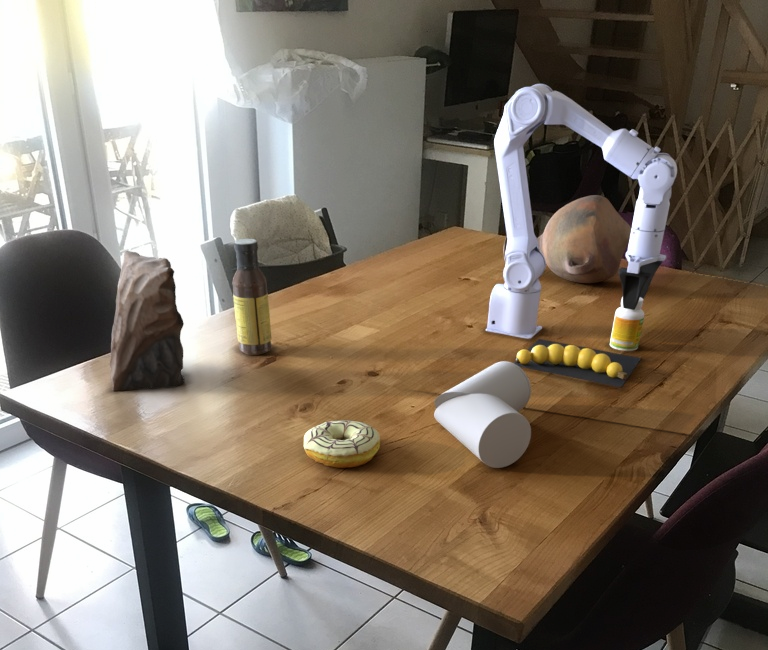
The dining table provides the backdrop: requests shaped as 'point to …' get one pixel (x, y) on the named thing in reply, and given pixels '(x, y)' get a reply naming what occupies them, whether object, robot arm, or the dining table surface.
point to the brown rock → (146, 326)
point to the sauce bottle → (251, 300)
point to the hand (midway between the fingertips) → (633, 303)
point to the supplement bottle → (627, 327)
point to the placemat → (584, 374)
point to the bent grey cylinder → (489, 413)
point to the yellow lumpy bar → (571, 358)
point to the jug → (584, 240)
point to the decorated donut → (342, 443)
